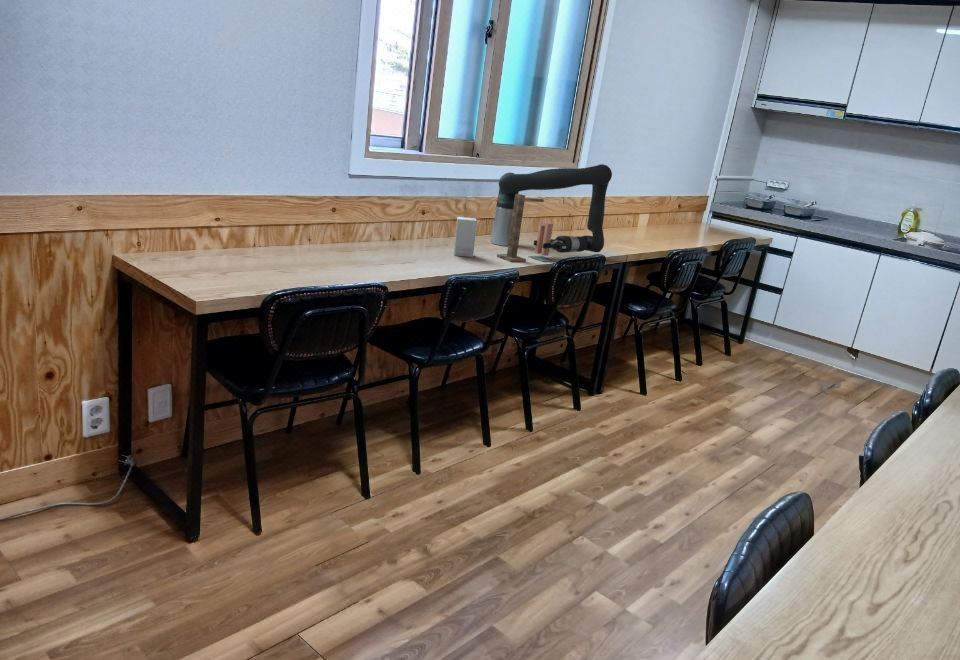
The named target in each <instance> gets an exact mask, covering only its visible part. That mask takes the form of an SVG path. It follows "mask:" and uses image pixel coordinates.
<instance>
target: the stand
mask: <svg viewBox="0 0 960 660" xmlns="http://www.w3.org/2000/svg"><path fill="white" fill-rule="evenodd" d="M525 202H531V203H532V202H533V203H544V202H545V199H544V198H531V197H530V198H529V197H528V198H527V197H526V194H522V193H518V194H515V200H514V207H513V214H512V221H511V229H510V236H509V243H508V246H507V252H506V253H496V258H499V259H502V260H505V261H507V262H509V263H521V262H522V263H527V258H525V257H521V256H519V255H518V249H519V242H520V236H521V228H522V222H523V215H524V208H525Z"/></svg>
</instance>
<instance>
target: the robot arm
mask: <svg viewBox="0 0 960 660" xmlns="http://www.w3.org/2000/svg"><path fill="white" fill-rule="evenodd" d="M612 176H613V171H612V169H611V168H610V167H609V166H608V165H606V164H603V163H602V164H597V165H593V166H588V167H583V168H582V167H581V168H580V167H579V168H575V167H574V168H573V167H572V168H571V167H566V168H564V167H560V168H549V169H544V170H538V171H535V172H529V173H514V172H506V173H504V174H503V175H502V176H501V177H500V178H499V180H498V188H499V189H498V194H497V200H496V205H495V206H496V207H495V212H494V214H495V215H494V220H493V222H492V227H491V234H490V242H491V244H494V245H498V246H503V247H504V246H507V247H508V243H509V236H510V229H511V221H512V214H513V207H514V200H515V194H520V193H519V192H524V191H529V190H530V191H533V190H534V191H546V190H547V191H548V190H561V189H566V188H568V189H569V188H573V187H577V186H582V185H583V186H585V185H586V186H587V185H590V186H592V189H591V190H592V191H591V192H592V193H591V201H590V205H589V211H588V216H587V217H588V218H587V230H588V231H591V233H592V235H582V236H580V235H579V236H577V235H576V236H575V235H557V236H556V237H555V239H554V238H551V242H550V243H543V248H549V250H554V251H556V252H557V253H560V254H562V253H577V252H578V253H580V252H584V251H587V252H592V253H593V252H594V253H600V252H601V251H603V249H604V246H605V238H604V228H603V227H604V220H605V206H606V203H605V202H606V195H607V190H608V187H609V183H610V182H611V179H612ZM536 243H537V239H536V240H533V246H535V247H536Z"/></svg>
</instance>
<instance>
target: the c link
mask: <svg viewBox="0 0 960 660" xmlns="http://www.w3.org/2000/svg"><path fill="white" fill-rule="evenodd" d="M553 227H554V223H552V222H550V221H545V220H544V221H540V220H539V223H538V230H537V237H536V240H537V243H536V246H535V250H534V253H535V254H537V255H538V254H540V256H544V257H546V256H548V257H549V254H550V248H543V243H550V242H551V239H552V233H553V229H554V228H553Z"/></svg>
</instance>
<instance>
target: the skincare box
mask: <svg viewBox="0 0 960 660" xmlns="http://www.w3.org/2000/svg"><path fill="white" fill-rule="evenodd" d="M477 222H478V220H477V218H473V217H472V218H471V217H462V216H457V218H456V226H455V238H454V249H453V255H454V257H455V256H457V257H466V258H467V257H468V258H474V250H475V242H476V233H477Z"/></svg>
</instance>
